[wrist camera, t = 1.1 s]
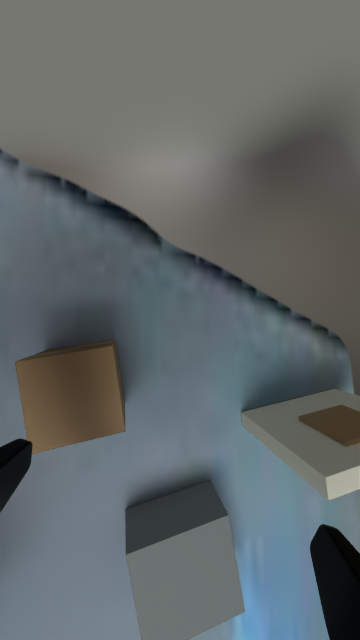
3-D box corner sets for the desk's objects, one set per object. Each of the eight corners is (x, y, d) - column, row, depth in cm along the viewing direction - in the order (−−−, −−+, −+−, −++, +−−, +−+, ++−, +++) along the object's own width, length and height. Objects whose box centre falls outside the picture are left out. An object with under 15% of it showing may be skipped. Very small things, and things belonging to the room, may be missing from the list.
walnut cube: (55, 418, 18) (29, 454, 13) (45, 350, 18) (15, 361, 13) (124, 403, 19) (125, 431, 14) (115, 339, 19) (112, 345, 14)
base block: (141, 591, 19) (145, 660, 15) (125, 506, 19) (125, 554, 15) (222, 557, 21) (244, 611, 17) (208, 478, 20) (228, 514, 17)
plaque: (242, 425, 21) (328, 500, 12) (240, 408, 21) (324, 471, 12) (336, 400, 23) (465, 448, 14) (334, 385, 23) (463, 424, 14)
